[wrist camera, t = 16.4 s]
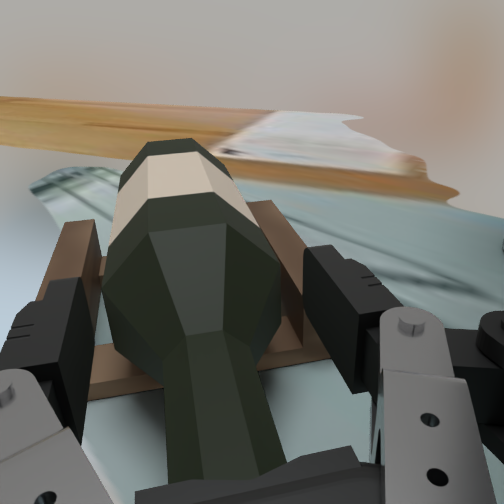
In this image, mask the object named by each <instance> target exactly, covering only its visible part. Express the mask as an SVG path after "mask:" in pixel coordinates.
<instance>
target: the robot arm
mask: <svg viewBox="0 0 504 504" xmlns="http://www.w3.org/2000/svg"><path fill="white" fill-rule="evenodd" d="M502 247H503V250H504V240H503V245H502ZM302 298H303V305H304V310H305V313H306V315H307V317H308V319H309V321H310V323H311V324H312V326H313V328H314V329H315V331H316V333H317V335H318V336H319V338H320V340H321V341H322V343H323V345H324V347H325V348H326V350H327V352H328V353H329V355H330V357H331V359H332V360H333V362H334V364H335V365H336V367H337V369H338V371H339V372H340V374H341V376H342V377H343V379H344V381H345V383H346V384H347V386H348V388H349V389H350V391H351V393H352V394H357V393H362V392H367V391H369V393H370V395H371V396H372V398H371V407H370V449H369V463H366V462H359V461H358V459H357V457H356V455H355V453H354V451H353V449H352V447H351V445H350V446H345V447H341V448H336V449H331V450H327V451H322V452H317V453H313V454H308V455H303V456H300V457H298V458H296V459H294V460H292V461H290V462H288V463H286V464H284V465H281V466H279V467H277V468H275V469H273V470H271V471H269V472H267V473H265V474H263V475H261V476H259V477H257V478H254V479H251V480H196V479H191V480H186V481H182V482H177V483H172V484H168V485H163V486H158V487H154V488H149V489H144V490H140V491H135V504H497V503H496V499H495V495H494V491H493V487H492V482H491V478H490V474H489V470H488V466H487V462H486V458H485V454H484V450H483V446H482V443H483V444H484V445H485V446H486V447H487V448H488V449H489V450H490V451H491V452H492V453H493V454H494V455H495V456H496V457H497V458H498V459H499V460H500V461H501V462H502V463H503V464H504V311H493V312H489V313H486V314H485V315H483V316H482V317H481V320H480V324H479V328H478V330H466V329H448V328H444V326H443V323H442V322H441V321H440V320H439V319H438V318H437V317H436V316H435V315H433V314H431V313H430V312H427V311H425V310H422V309H418V308H413V307H404V306H403V305H402V304H401V303H400V302H399V301H398V299H397V298H396V297H395V296H394V295H393V294H392V293H391V292H390V291H389V290H388V289H387V288H386V287H385V286H384V285H382V283H381V282H380V281H379V280H378V279H377V277H374V274H373V273H372V272H371V271H370V270H369V269H368V268H367V267H366V266H365V265H363V264H361V263H359V262H357V261H355V260H353V259H344V258H343V257H342V256H341V255H340V254H339V252H338V251H337V250H336V249H335V248H334V247H333V246H332V245H323V246H315V247H307V248H305V249H304V253H303V287H302ZM94 349H95V339H94V330H93V324H92V320H91V316H90V311H89V307H88V302H87V298H86V294H85V289H84V285H83V281H82V279H81V277H72V278H64V279H57V280H50V281H49V283H48V286H47V289H46V292H45V295H44V298H43V300H40V301H32V302H30V303H28V304H27V305H26V306H25V307H24V308H23V309H22V310H21V311H20V312H19V313H17V314H16V317H15V319H14V321H13V324H12V326H11V330H10V331H9V333H8V336H7V341H5V343H4V345H3V347H2V350H1V352H0V504H114V503H113V502H112V500H111V499H110V497H109V495H108V493H107V491H106V490H105V488H104V486H103V484H102V483H101V481H100V479H99V477H98V476H97V474H96V472H95V470H94V469H93V467H92V465H91V463H90V462H89V460H88V458H87V457H86V455H85V453H84V451H83V450H82V448H81V444H82V437H83V430H84V422H85V415H86V408H87V401H88V393H89V386H90V379H91V371H92V364H93V357H94Z"/></svg>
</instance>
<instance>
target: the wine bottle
mask: <svg viewBox="0 0 504 504" xmlns="http://www.w3.org/2000/svg"><path fill="white" fill-rule="evenodd" d="M101 290H102V294H103V299H104V303H105V308H106V312H107V317H108V321H109V326H110V330H111V335H112V339H113V344H114V348H115V350H116V351H117V352H118V353H120V354H121V355H122V356H124V357H125V358H126V359H128V360H129V361H130V362H132V363H133V364H134V365H136V366H137V367H138V368H140V369H141V370H142V371H144V372H145V373H146V374H148V375H149V376H150V377H152V378H153V379H154V380H156V381H157V382H158V383H160V384H161V385H162V386H164V404H165V425H166V446H167V467H168V484H172V483H177V482H182V481H186V480H191V479H196V480H251V479H254V478H257V477H259V476H261V475H263V474H265V473H267V472H269V471H271V470H273V469H275V468H277V467H279V466H281V465H284V464H286V463H287V461H286V458H285V455H284V452H283V449H282V446H281V443H280V439H279V436H278V433H277V430H276V427H275V424H274V421H273V418H272V415H271V412H270V408H269V405H268V402H267V399H266V396H265V393H264V390H263V387H262V384H261V381H260V377H259V374H258V371H257V368H256V365H257V364H258V362H259V360H260V359H261V357H262V355H263V354H264V352H265V350H266V349H267V347H268V345H269V343H270V342H271V340H272V338H273V337H274V335H275V333H276V332H277V330H278V328H279V327H280V325H281V323H282V321H281V273H280V262H279V261H278V259H277V257H276V255H275V254H274V252H273V250H272V248H271V247H270V245H269V243H268V241H267V239H266V238H265V236H264V234H263V232H262V231H261V229H260V227H259V225H258V224H257V222H256V220H255V218H254V216H253V215H252V213H251V211H250V209H249V208H248V206H247V204H246V202H245V201H244V199H243V197H242V195H241V194H240V192H239V190H238V188H237V186H236V185H235V183H234V181H233V179H232V178H231V176H230V174H229V172H228V171H227V169H226V167H225V165H224V164H222V163H221V162H220V161H219V160H218V159H216V158H215V157H214V156H213V155H212V154H210V153H209V152H208V151H207V150H206V149H204V148H203V147H202V146H201V145H200V144H198V143H197V142H196V141H195V140H193V139H192V138H186V139H175V140H164V141H153V142H147V143H146V145H145V146H144V147H143V148H142V150H141V151H140V152H139V153H138V155H137V156H136V157H135V158H134V160H133V161H132V162H131V163H130V165H129V166H128V167H127V168H126V170H125V171H124V172H123V173H122V175H121V178H120V183H119V189H118V195H117V201H116V206H115V212H114V218H113V224H112V229H111V235H110V241H109V247H108V252H107V258H106V264H105V270H104V275H103V281H102V287H101Z"/></svg>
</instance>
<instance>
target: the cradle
mask: <svg viewBox="0 0 504 504" xmlns="http://www.w3.org/2000/svg"><path fill="white" fill-rule="evenodd" d="M246 204H247V206H248V208H249V209H250V211H251V213H252V215H253V216H254V218H255V220H256V222H257V224H258V225H259V227H260V229H261V231H262V232H263V234H264V236H265V238H266V239H267V241H268V243H269V245H270V247H271V248H272V250H273V252H274V254H275V255H276V257H277V259H278V261H279V262H280V273H281V321H282V323H281V325H280V327H279V328H278V330H277V332H276V333H275V335H274V337H273V338H272V340H271V342H270V343H269V345H268V347H267V349H266V350H265V352H264V354H263V355H262V357H261V359H260V360H259V362H258V364H257V365H256V368H257V371H260V370H266V369H272V368H277V367H283V366H289V365H294V364H300V363H306V362H311V361H317V360H323V359H328V358H331V357H330V355H329V353H328V352H327V350H326V348H325V347H324V345H323V343H322V341H321V340H320V338H319V336H318V335H317V333H316V331H315V329H314V328H313V326H312V324H311V323H310V321H309V319H308V317H307V315H306V313H305V310H304V305H303V298H302V287H303V253H304V249H305V248H307V246H306V245H305V243H304V242H303V241H302V239H301V238H300V237H299V235H298V234H297V233H296V232H295V230H294V229H293V228H292V226H291V225H290V224H289V222H288V221H287V220H286V219H285V217H284V216H283V215H282V213H281V212H280V211H279V209H278V208H277V207H276V206H275V204H274V203H273V202H272V200H266V201H257V202H248V203H246ZM106 258H107V256H103V257H102V255H101V250H100V245H99V240H98V235H97V230H96V225H95V220H94V219H91V220H82V221H73V222H65V223H64V226H63V229H62V231H61V234H60V237H59V239H58V242H57V244H56V247H55V250H54V252H53V255H52V258H51V260H50V263H49V266H48V268H47V271H46V274H45V276H44V279H43V281H42V284H41V287H40V289H39V292H38V295H37V297H36V300H35V301H40V300H43V298H44V295H45V292H46V289H47V286H48V283H49V281H50V280H57V279H64V278H72V277H81V279H82V281H83V285H84V289H85V294H86V298H87V302H88V307H89V311H90V316H91V320H92V324H93V330H94V337H95V330H96V323H97V316H98V309H99V302H100V295H101V287H102V281H103V275H104V270H105V264H106ZM158 388H164V386H162V385H161V384H160V383H158V382H157V381H156V380H154V379H153V378H152V377H150V376H149V375H148V374H146V373H145V372H144V371H142V370H141V369H140V368H138V367H137V366H136V365H134V364H133V363H132V362H130V361H129V360H128V359H126V358H125V357H124V356H122V355H121V354H120V353H118V352H117V351H116V350H115V348H114V344H113V343H110V344H103V345H97V346H95V349H94V357H93V364H92V371H91V379H90V386H89V393H88V401H90V400H96V399H101V398H107V397H113V396H118V395H124V394H130V393H136V392H141V391H147V390H153V389H158Z"/></svg>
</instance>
